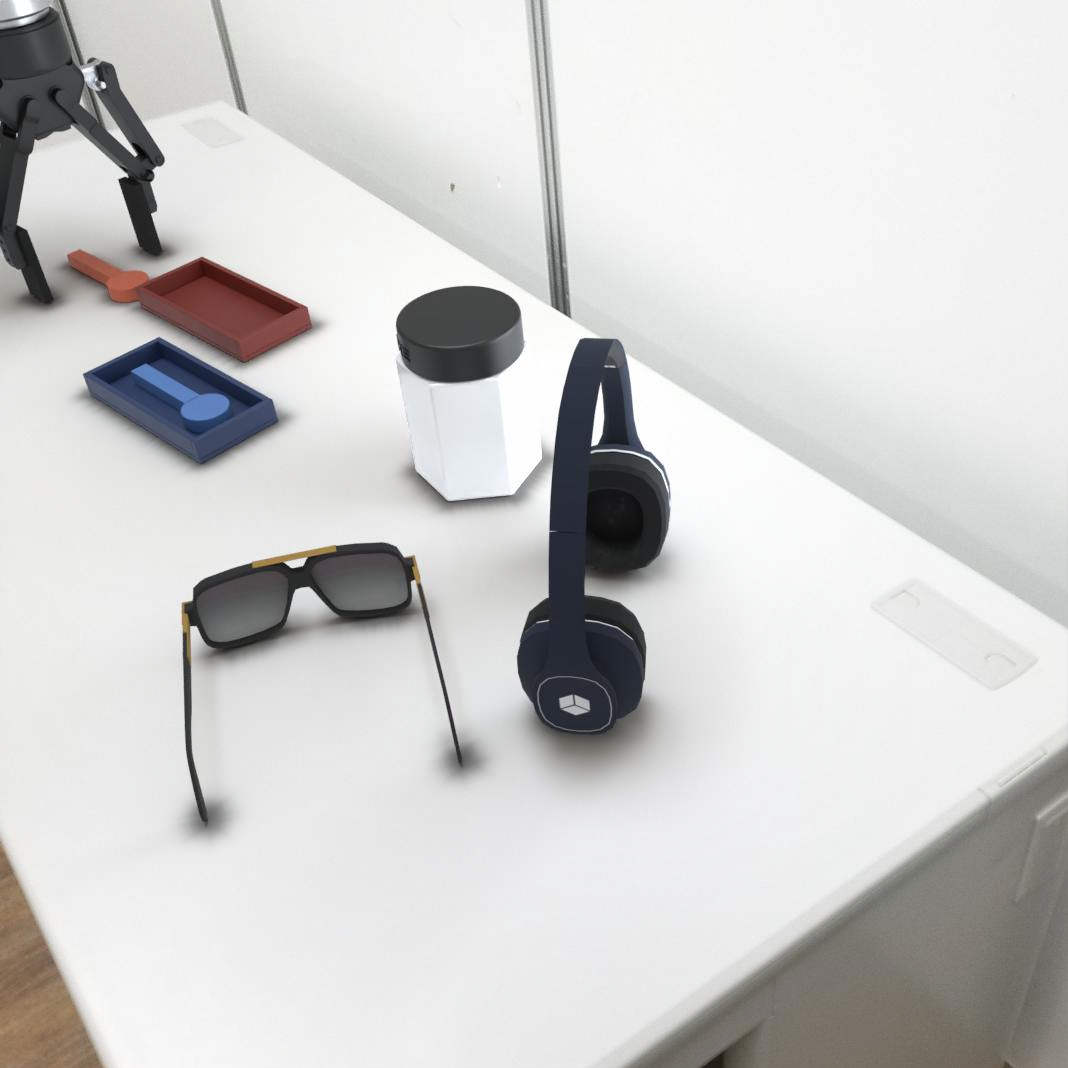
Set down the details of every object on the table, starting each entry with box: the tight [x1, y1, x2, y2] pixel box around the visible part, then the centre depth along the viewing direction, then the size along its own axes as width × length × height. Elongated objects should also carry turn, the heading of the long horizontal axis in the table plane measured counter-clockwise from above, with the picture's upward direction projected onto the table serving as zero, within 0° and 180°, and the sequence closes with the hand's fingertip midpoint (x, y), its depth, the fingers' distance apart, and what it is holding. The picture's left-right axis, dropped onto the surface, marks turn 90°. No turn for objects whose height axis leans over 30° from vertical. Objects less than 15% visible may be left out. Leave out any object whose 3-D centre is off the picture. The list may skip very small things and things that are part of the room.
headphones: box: [516, 337, 672, 736], centre depth 69 cm, size 20×7×18 cm, turn 172°
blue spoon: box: [131, 364, 233, 433], centre depth 94 cm, size 11×4×1 cm, turn 48°
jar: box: [394, 285, 543, 502], centre depth 84 cm, size 9×8×12 cm
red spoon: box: [66, 248, 150, 303], centre depth 111 cm, size 11×4×1 cm, turn 48°
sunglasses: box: [181, 541, 463, 823], centre depth 70 cm, size 14×15×5 cm
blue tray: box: [82, 336, 279, 465], centre depth 95 cm, size 15×7×2 cm, turn 48°
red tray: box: [134, 256, 313, 363], centre depth 105 cm, size 15×7×2 cm, turn 48°
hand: (98, 272), depth 112 cm, fingers open, 10 cm apart
